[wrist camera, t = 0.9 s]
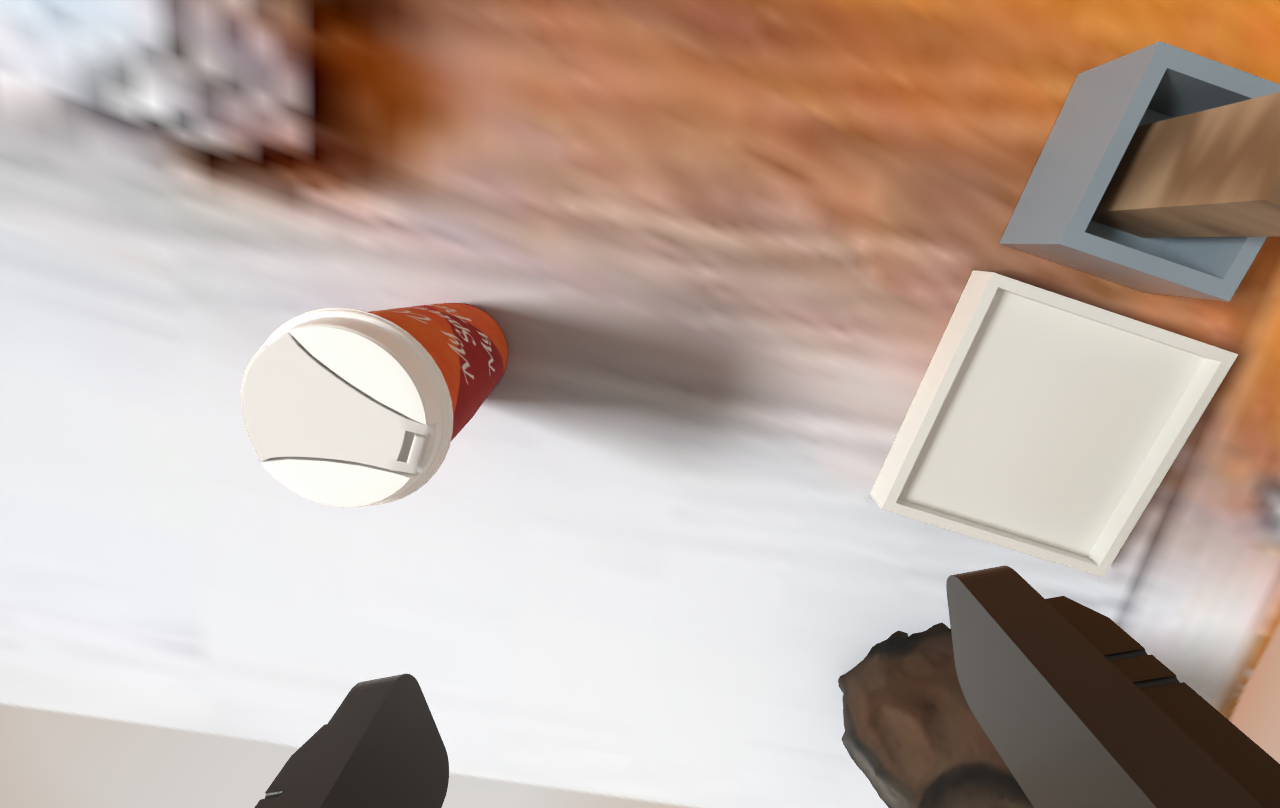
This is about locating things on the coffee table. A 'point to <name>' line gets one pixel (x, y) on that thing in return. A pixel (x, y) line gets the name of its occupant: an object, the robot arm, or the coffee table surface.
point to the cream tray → (1046, 423)
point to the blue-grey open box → (1090, 155)
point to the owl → (921, 729)
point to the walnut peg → (1200, 175)
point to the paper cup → (368, 397)
